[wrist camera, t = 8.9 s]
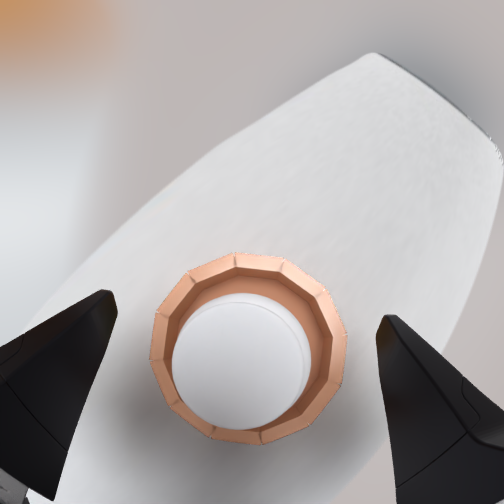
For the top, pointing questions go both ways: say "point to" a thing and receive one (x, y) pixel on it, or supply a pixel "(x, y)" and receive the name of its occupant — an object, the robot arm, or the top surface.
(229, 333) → the supplement bottle
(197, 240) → the top surface
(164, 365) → the terracotta bowl
